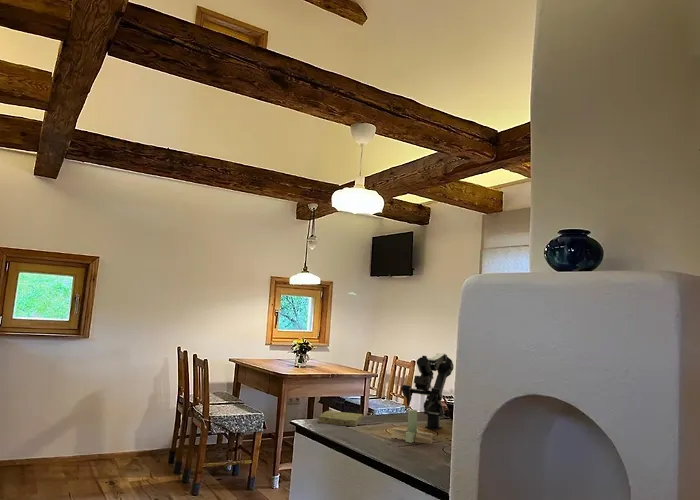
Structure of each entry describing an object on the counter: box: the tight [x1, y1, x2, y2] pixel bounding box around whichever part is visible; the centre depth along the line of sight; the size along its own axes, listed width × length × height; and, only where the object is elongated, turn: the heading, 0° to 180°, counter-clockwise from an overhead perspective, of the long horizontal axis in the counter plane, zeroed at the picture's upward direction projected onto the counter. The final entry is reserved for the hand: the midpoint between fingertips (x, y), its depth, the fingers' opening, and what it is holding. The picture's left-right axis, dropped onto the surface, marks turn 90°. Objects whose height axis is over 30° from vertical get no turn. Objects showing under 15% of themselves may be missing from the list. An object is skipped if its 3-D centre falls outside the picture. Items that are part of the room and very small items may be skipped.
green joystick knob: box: [405, 409, 419, 443], centre depth 238 cm, size 8×4×13 cm, turn 153°
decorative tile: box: [317, 410, 364, 427], centre depth 271 cm, size 19×20×4 cm
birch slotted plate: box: [391, 427, 433, 445], centre depth 237 cm, size 2×18×4 cm, turn 64°
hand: (416, 407), depth 243 cm, fingers open, 9 cm apart
